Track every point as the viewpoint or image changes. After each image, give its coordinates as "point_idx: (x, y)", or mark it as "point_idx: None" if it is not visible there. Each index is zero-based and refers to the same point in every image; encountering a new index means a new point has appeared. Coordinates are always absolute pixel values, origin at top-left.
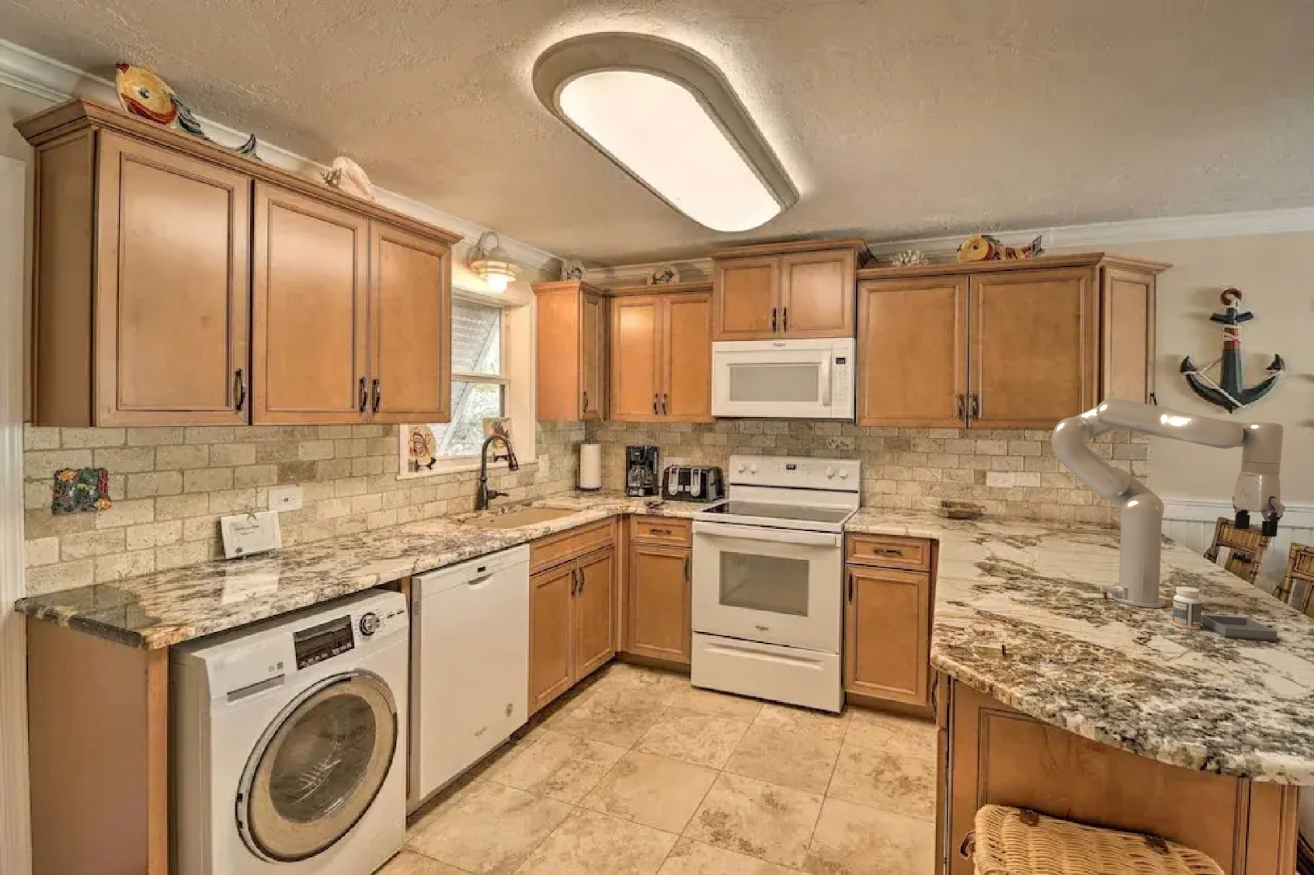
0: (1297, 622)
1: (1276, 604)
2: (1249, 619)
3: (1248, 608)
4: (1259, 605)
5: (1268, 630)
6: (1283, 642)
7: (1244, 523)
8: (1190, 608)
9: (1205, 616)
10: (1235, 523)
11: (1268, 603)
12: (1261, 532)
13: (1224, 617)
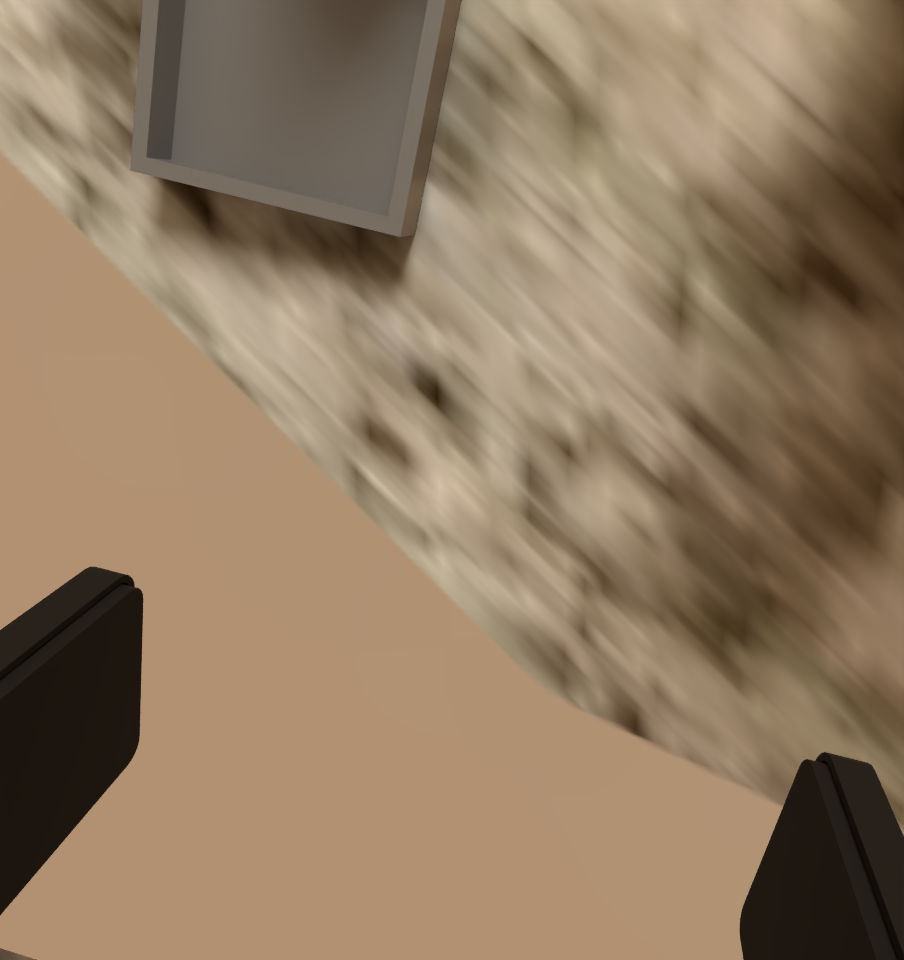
0: (507, 623)
1: None
2: (359, 209)
3: (787, 602)
4: (839, 726)
5: (141, 126)
6: (157, 202)
7: (783, 954)
8: None
9: None
10: (878, 830)
11: None
12: (93, 595)
13: (416, 74)
